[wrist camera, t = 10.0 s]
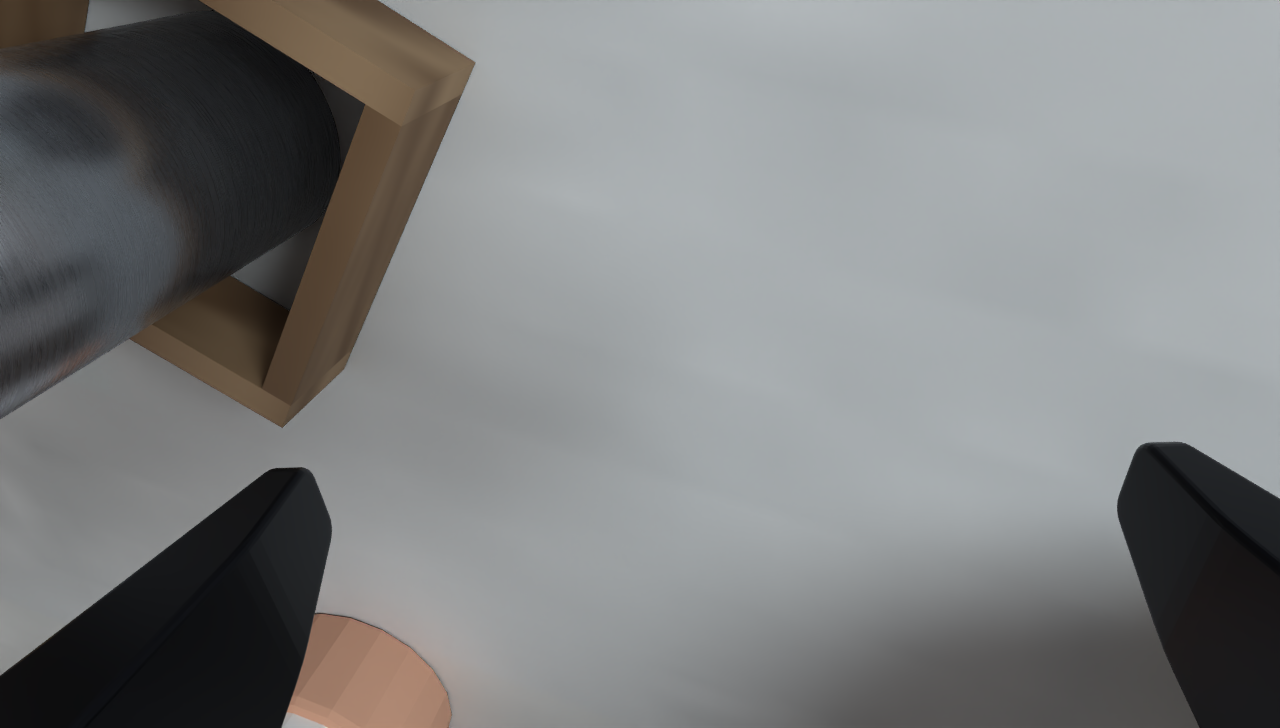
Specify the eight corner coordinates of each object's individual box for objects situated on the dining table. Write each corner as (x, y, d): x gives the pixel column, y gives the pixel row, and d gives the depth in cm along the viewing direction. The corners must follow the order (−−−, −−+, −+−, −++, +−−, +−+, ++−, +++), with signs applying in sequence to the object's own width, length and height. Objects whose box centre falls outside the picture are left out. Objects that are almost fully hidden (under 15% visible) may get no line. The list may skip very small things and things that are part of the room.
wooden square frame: (475, 62, 19) (415, 90, 16) (343, 369, 24) (281, 427, 21) (80, -188, 18) (-48, -201, 15) (31, 183, 23) (-73, 221, 20)
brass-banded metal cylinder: (388, 188, 21) (-106, 510, 10) (231, 273, 23) (-309, 610, 12) (241, -43, 19) (-569, 52, 8) (85, 76, 21) (-708, 272, 10)
